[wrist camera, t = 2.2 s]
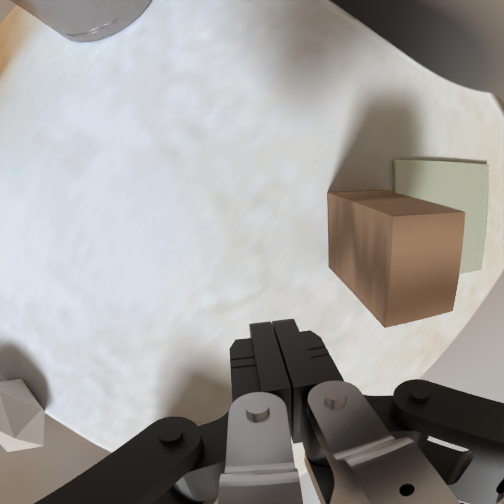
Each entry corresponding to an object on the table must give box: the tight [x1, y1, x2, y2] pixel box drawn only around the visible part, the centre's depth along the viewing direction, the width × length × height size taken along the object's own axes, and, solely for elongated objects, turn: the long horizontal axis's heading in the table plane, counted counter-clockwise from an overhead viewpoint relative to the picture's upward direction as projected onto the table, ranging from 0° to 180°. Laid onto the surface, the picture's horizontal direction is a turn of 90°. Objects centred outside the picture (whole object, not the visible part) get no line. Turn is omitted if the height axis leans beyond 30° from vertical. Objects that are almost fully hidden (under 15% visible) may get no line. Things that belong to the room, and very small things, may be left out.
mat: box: [393, 160, 489, 274], centre depth 24 cm, size 11×12×1 cm
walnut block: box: [327, 190, 465, 328], centre depth 19 cm, size 6×5×10 cm
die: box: [0, 378, 45, 452], centre depth 23 cm, size 8×9×10 cm
